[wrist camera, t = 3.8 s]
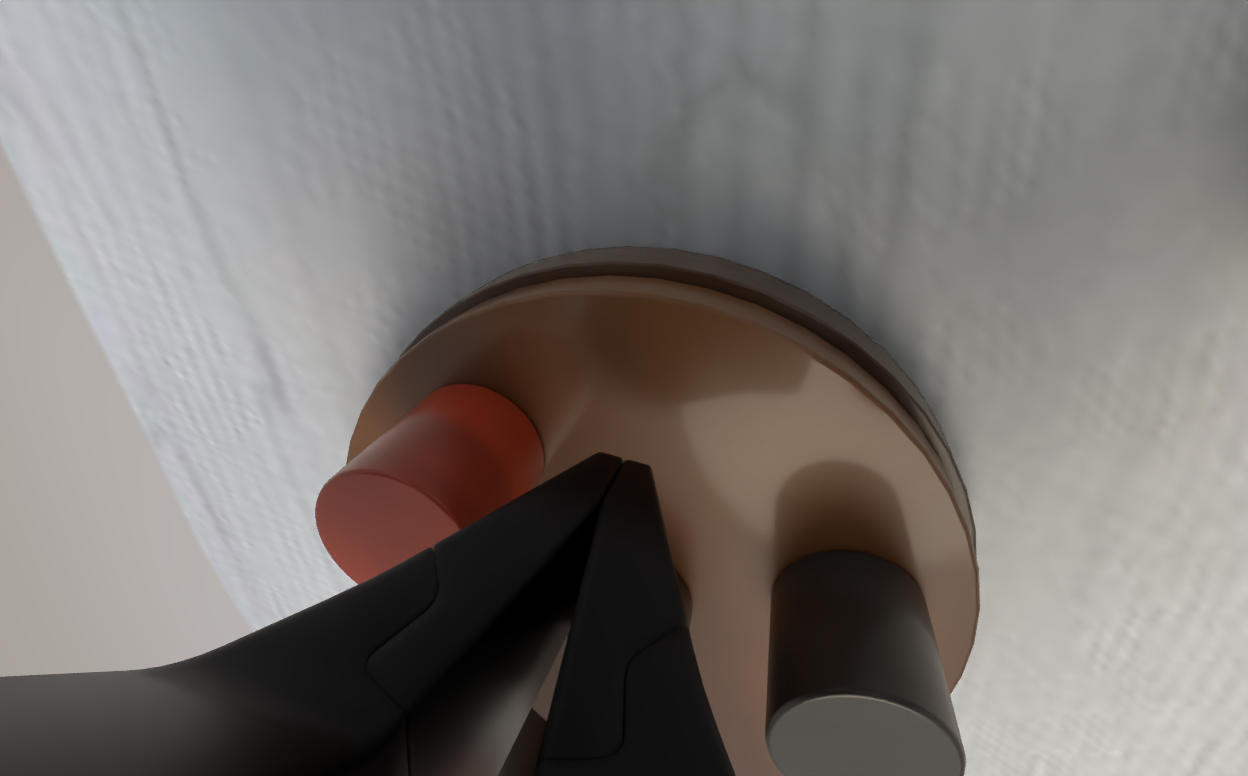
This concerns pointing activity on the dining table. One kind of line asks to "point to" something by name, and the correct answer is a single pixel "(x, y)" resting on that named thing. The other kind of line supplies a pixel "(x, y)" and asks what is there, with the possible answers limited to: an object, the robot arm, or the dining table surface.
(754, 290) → the base
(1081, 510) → the dining table surface
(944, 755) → the spice rack
